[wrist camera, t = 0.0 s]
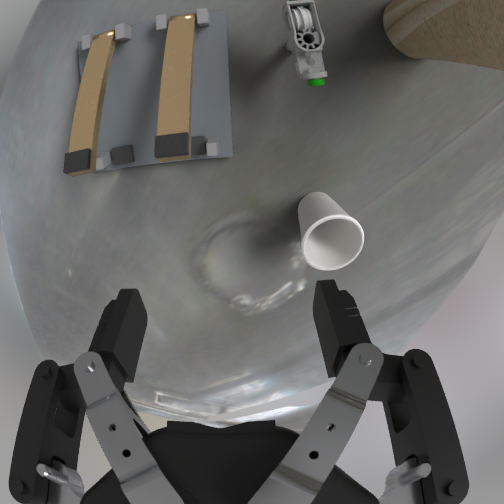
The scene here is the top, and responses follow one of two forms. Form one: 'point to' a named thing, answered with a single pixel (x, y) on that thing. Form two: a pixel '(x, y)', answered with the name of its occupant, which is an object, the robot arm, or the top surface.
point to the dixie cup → (327, 233)
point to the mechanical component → (305, 40)
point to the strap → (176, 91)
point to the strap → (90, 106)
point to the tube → (448, 30)
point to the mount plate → (148, 92)
